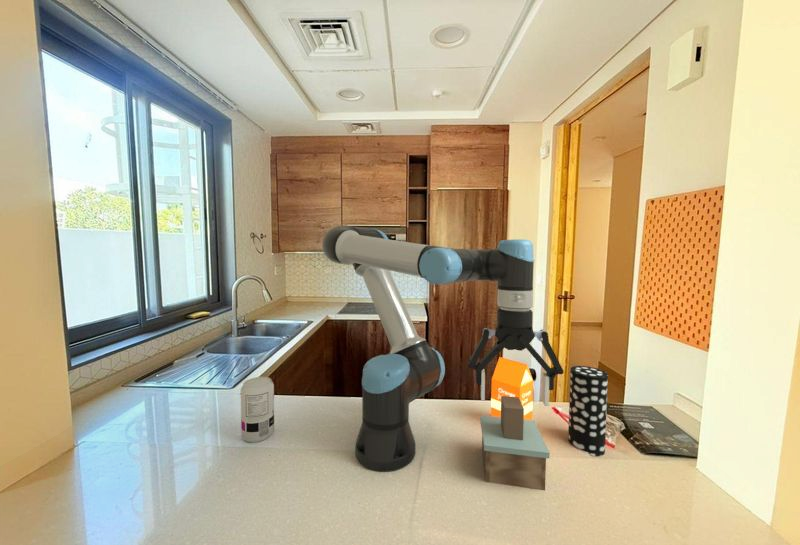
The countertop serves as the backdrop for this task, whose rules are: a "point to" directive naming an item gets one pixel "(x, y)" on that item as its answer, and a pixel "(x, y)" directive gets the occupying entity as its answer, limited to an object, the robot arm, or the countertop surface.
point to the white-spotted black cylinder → (588, 409)
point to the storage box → (514, 469)
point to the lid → (512, 431)
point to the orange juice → (512, 386)
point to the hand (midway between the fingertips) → (513, 401)
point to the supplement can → (257, 409)
